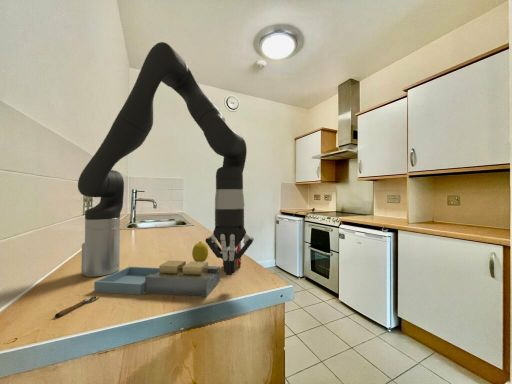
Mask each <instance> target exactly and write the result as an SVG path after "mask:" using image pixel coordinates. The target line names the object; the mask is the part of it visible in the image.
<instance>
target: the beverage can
mask: <svg viewBox="0 0 512 384" xmlns="http://www.w3.org/2000/svg"><path fill="white" fill-rule="evenodd" d="M241 249H242V241H241V242H240V243H239V245H237V253H238V252H239V251H240V250H241ZM222 265H223V266H224V261H223V260H222ZM241 265H242V257H241V258H240V259H236V268H239V267H240V266H241Z"/></svg>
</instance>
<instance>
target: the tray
mask: <svg viewBox="0 0 512 384" xmlns="http://www.w3.org/2000/svg"><path fill="white" fill-rule="evenodd" d="M158 273H159V267H147V266H145V267H144V266H128V267H125V268H123V269H119V270H118V271H116V272H114V273H111V274H108V275H105V276H104V277H102V278H99V279H97V280H95V281H93V282H94V283H93V285H94V287H93V288H94V289H93V291H94V293H95V292H97V293H110V294H111V293H112V294H121V295H122V294H125V295H142V294H145V277H146V276H148V275H150V274H158Z"/></svg>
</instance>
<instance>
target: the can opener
mask: <svg viewBox="0 0 512 384" xmlns="http://www.w3.org/2000/svg"><path fill="white" fill-rule="evenodd" d="M99 299H100V296H99V297H97V296H96V295H93V296H91V297H90V298H89V299H87V298H86V299H83V300H82V301H79V302H78V303H76V304H74V305H72V306H70V307H67V308H65V309H63V310H61V311H59V312H57V313H55V314H54V318H55V319H60V318H62V317H64V316H66V315H68V314H70V313H72V312H74V310H78V309H79V308H81V307H83V306H84V305H86V304H92V303H95V302H96V301H98V300H99Z"/></svg>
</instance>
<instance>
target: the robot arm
mask: <svg viewBox="0 0 512 384" xmlns="http://www.w3.org/2000/svg"><path fill="white" fill-rule="evenodd" d="M161 83H162V84H163V83H164V85H166V86H167V87H169V88H171V89H172V90H174V92H175V93H177V94H178V95H179V96H180V97H181V98H182V100H184V102H185V104H186V108H187V110H188V112H189V114H190V116H191V118H192V119H193V121H194V122H195V123H196V124H197V126H198V127H199V128H200V129H201V131H202V132H203V136H204V137H205V139H206V142H207V144H208V145H209V147H210V148H211V149H212V151H214V152H215V154H216V155H219V156H221V157H223V161H222V166H221V167H219V168H217V170H216V173H215V196H214V229H213V230H212V231H213V232H212V233H213V234H212V235H210V236H209V237H207V238H206V239H205V243H206V244H207V247H209V248H210V250H211V251H212V253H213V254H214V255H215V257H216V258H218V259H221V260H222V262H223V261H224V265H223V272H224V273H225V276H233V275H234V273H235V272H236V268H237V267H236V259H240V258H241V259H242V257H243V255H244V254H245V253H246V251H247V250H248V249H249V248H250V246H251V245H252V244H253V242H254V241H255V239H254V237H251V236H250V235H248V234H247V230H246V228H245V197H244V196H245V195H244V180H243V179H244V178H243V177H244V175H243V174H244V170H245V164H246V159H247V143H246V141H245V139H244V137H243V136H241V135H240V134H239V133H237V132H235V131H234V130H233V129H232V128H230V126H229V125H228V124H227V123H226V120H225V119H226V118H225V117H224V115H223V114H222V112H221V111H220V109H219V108H218V107H217V105H215V103H214V102H213V101H212V100H211V99H210V97H209V96H208V95H207V94H206V93H205V92H204V91H203V89H201V87H200V85H199V83H198V82H197V80H196V78H195V76H194V74H193V72H192V70H191V68H190V67H189V65H188V63H187V61H186V60H184V59H183V58H182V56H181V55H180V54H178V52H177V51H176V50H175V49H174V48H173V47H172V46H171V45H170V44H168V43H167V42H164V41H163V42H162V41H160V42H157V43H156V44H154V45H153V46H152V47H151V49H150V50H149V51H148V53H147V55H146V57H145V60H144V62H143V64H142V66H141V69H140V71H139V73H138V75H137V78H136V81H135V83H134V85H133V87H132V89H131V90H130V93H129V95H128V96H127V99H126V100H125V102H124V104H123V106H122V107H121V109H120V110H119V112H118V114H117V116H116V117H115V119H114V120H113V123H112V125H111V126H110V128H109V131H108V133H107V134H106V136H105V138H104V139H103V141H102V143H101V144H100V146H99V148H98V149H97V150H96V152H95V153H94V155H93V156H92V157H91V159H90V160H89V161H88V163H87V164H86V165H85V167H84V168H83V170H82V171H81V173H80V176H79V177H78V181H77V189H78V192H79V193H80V194H81V195H82V196H84V197H87V198H100V200H99V203H97V205H95V206H93V207H90V208H88V209H87V210H86V211H85V214H84V242H83V243H82V244H81V266H80V267H81V269H80V270H81V273H80V274H81V275H84V276H85V277H89V278H90V277H91V278H92V277H102V276H109V275H111V274H113V273H116V272H118V271H120V263H121V262H120V260H121V259H120V258H121V257H120V256H121V255H120V253H121V251H120V250H121V248H120V247H121V213H122V210H123V208H124V207H123V206H124V194H125V181H124V177H123V175H122V174H121V173H120V172H119V171H117V170H115V169H114V170H113V168H114V166H115V165H116V164H117V163H118V162H119V161H120V160H122V159H123V158H125V157H126V156H128V155H129V154H131V153H133V152H134V151H136V150H137V149H138V148H140V147H142V145H143V144H144V142H145V141H146V139H147V138H148V136H149V133H150V132H151V130H152V129H153V125H154V98H155V95H156V92H157V90H158V88H159V86H160V84H161ZM242 241H243V242H242ZM240 242H241V243H243V246H241V250H240V251H239V252H238V253H237V245H239V243H240ZM218 243H219V244H218ZM220 246H221V247H220Z"/></svg>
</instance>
